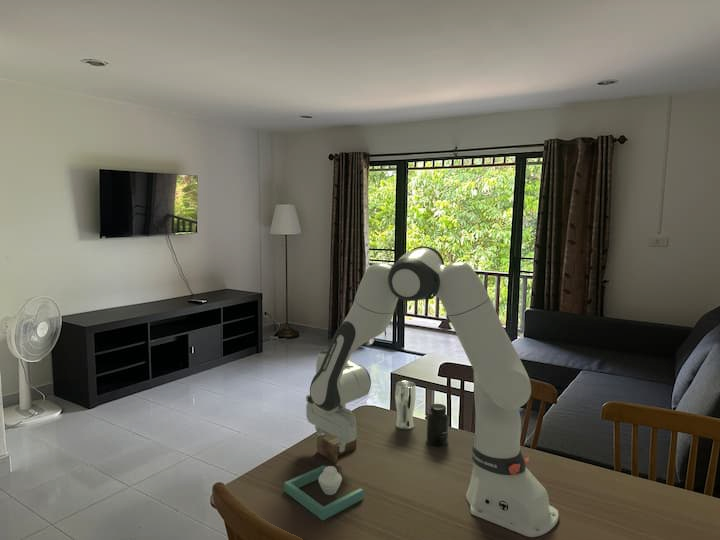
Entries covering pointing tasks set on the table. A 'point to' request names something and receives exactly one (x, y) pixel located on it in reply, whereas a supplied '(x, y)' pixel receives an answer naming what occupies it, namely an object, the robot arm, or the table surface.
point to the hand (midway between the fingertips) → (331, 445)
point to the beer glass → (405, 404)
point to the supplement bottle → (437, 425)
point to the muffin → (330, 480)
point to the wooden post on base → (332, 448)
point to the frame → (312, 505)
